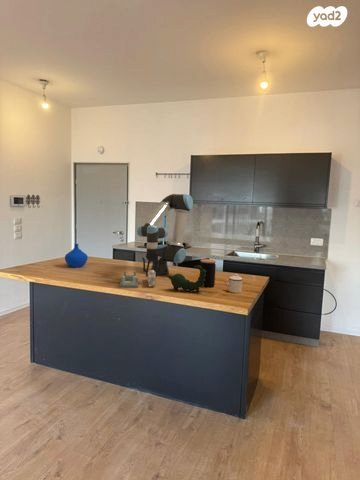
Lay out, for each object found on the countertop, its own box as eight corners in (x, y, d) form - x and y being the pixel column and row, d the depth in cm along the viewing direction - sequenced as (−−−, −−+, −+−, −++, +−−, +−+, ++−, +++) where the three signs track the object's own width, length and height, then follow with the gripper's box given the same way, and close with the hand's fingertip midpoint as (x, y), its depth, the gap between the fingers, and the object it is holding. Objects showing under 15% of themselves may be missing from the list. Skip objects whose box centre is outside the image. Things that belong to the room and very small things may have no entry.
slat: (153, 278, 243) (153, 270, 242) (154, 286, 221) (155, 277, 220) (148, 278, 242) (148, 270, 241) (148, 286, 221) (148, 277, 220)
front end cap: (135, 284, 222) (135, 276, 222) (135, 285, 219) (135, 277, 219) (122, 284, 221) (122, 276, 221) (122, 285, 218) (122, 277, 218)
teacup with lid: (243, 290, 223) (244, 273, 222) (240, 293, 215) (241, 276, 214) (225, 288, 228) (226, 271, 226) (222, 291, 219) (223, 274, 218)
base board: (138, 279, 241) (138, 277, 241) (137, 287, 219) (138, 285, 219) (121, 279, 240) (121, 277, 239) (119, 287, 218) (119, 285, 218)
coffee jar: (205, 283, 240) (206, 258, 238) (217, 286, 233) (218, 260, 231) (196, 285, 231) (197, 260, 229) (208, 288, 225) (210, 262, 223)
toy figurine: (203, 293, 219) (167, 286, 223) (207, 265, 217) (170, 259, 221) (202, 297, 210) (163, 290, 214) (206, 268, 208) (167, 261, 211)
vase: (65, 264, 286) (65, 242, 284) (87, 264, 291) (87, 242, 289) (64, 268, 268) (64, 245, 266) (87, 268, 274) (88, 245, 272)
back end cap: (135, 278, 240) (135, 270, 240) (135, 279, 237) (135, 271, 237) (123, 277, 239) (123, 270, 238) (123, 278, 236) (123, 271, 236)
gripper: (164, 247, 233) (163, 279, 236) (139, 247, 231) (139, 279, 234) (164, 249, 226) (164, 282, 229) (139, 248, 224) (139, 282, 227)
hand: (151, 281), depth 232 cm, fingers closed on slat, 4 cm apart
